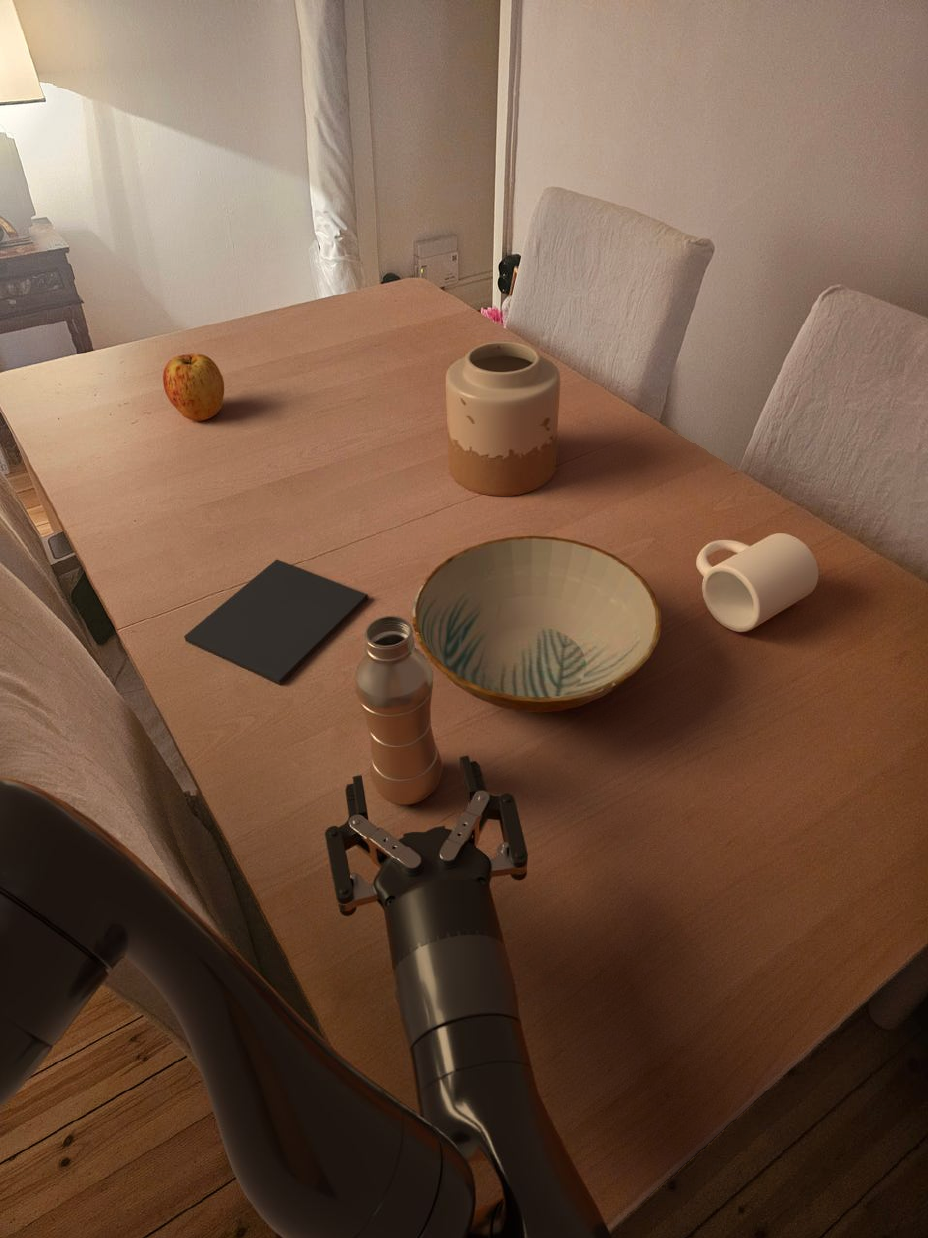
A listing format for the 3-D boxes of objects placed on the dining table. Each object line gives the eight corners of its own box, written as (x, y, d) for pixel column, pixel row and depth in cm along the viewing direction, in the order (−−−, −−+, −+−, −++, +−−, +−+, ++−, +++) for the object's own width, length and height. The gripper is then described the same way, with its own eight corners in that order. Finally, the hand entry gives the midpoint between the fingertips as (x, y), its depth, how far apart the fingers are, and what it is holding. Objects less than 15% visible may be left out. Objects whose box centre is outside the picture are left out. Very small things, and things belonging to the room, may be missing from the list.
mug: (808, 609, 94) (827, 554, 89) (750, 646, 90) (766, 590, 84) (727, 558, 101) (740, 504, 96) (670, 589, 97) (680, 535, 92)
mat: (280, 685, 87) (279, 680, 87) (185, 641, 93) (183, 636, 92) (368, 599, 97) (367, 594, 97) (277, 563, 103) (276, 558, 102)
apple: (196, 397, 136) (180, 339, 130) (242, 406, 134) (229, 347, 127) (162, 423, 130) (144, 364, 124) (210, 433, 128) (194, 372, 121)
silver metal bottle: (456, 790, 77) (447, 636, 63) (394, 827, 74) (371, 673, 61) (420, 746, 81) (404, 592, 67) (360, 779, 78) (331, 625, 65)
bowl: (702, 687, 86) (715, 632, 80) (502, 798, 76) (502, 743, 71) (556, 563, 101) (559, 509, 96) (376, 641, 92) (369, 587, 87)
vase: (427, 466, 119) (420, 356, 108) (504, 429, 126) (505, 322, 115) (499, 510, 110) (499, 395, 99) (577, 468, 117) (586, 357, 106)
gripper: (559, 918, 52) (498, 725, 64) (335, 967, 50) (314, 758, 62) (554, 970, 57) (498, 783, 69) (349, 1017, 55) (328, 816, 67)
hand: (411, 772), depth 65 cm, fingers open, 8 cm apart
